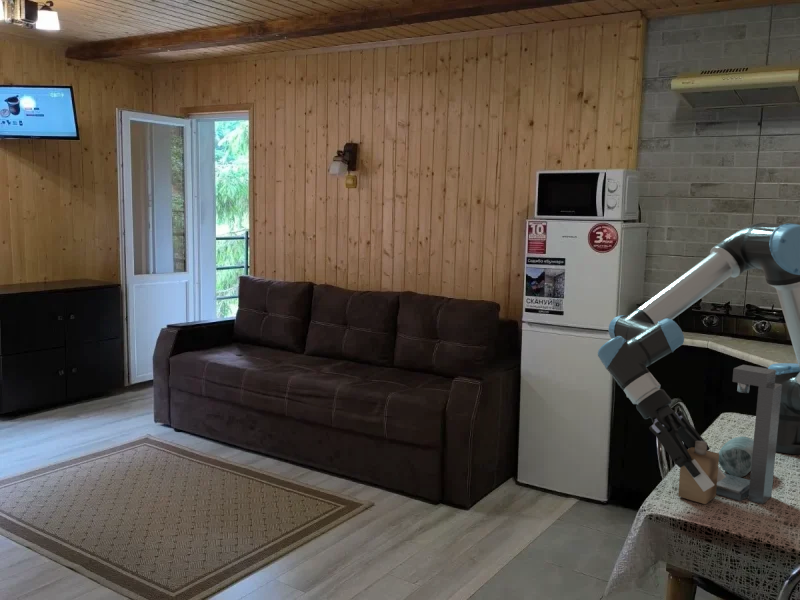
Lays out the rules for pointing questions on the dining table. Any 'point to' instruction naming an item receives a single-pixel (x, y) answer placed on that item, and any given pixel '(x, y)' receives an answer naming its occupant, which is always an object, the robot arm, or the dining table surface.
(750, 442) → the blue grey streaked ovoid
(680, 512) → the dining table surface
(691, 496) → the brown bottle
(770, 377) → the press
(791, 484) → the dining table surface
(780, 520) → the dining table surface
